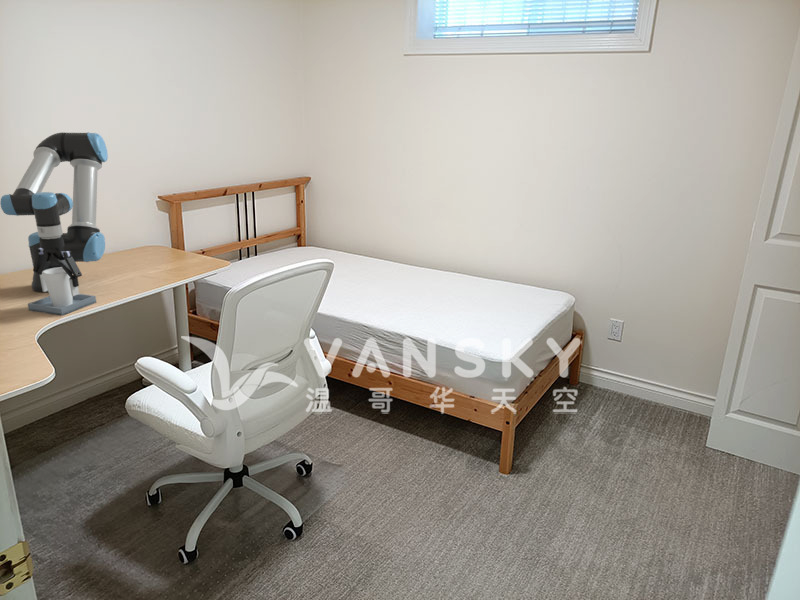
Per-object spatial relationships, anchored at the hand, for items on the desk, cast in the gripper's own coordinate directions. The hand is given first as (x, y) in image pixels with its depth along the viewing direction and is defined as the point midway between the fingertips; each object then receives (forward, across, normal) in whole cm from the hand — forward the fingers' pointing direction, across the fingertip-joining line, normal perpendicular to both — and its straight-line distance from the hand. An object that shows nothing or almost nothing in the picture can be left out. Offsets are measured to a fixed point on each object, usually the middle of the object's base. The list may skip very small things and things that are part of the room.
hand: (61, 293), depth 216 cm
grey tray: (+5, 0, 0) cm, 5 cm away
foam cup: (+5, 0, 0) cm, 5 cm away
